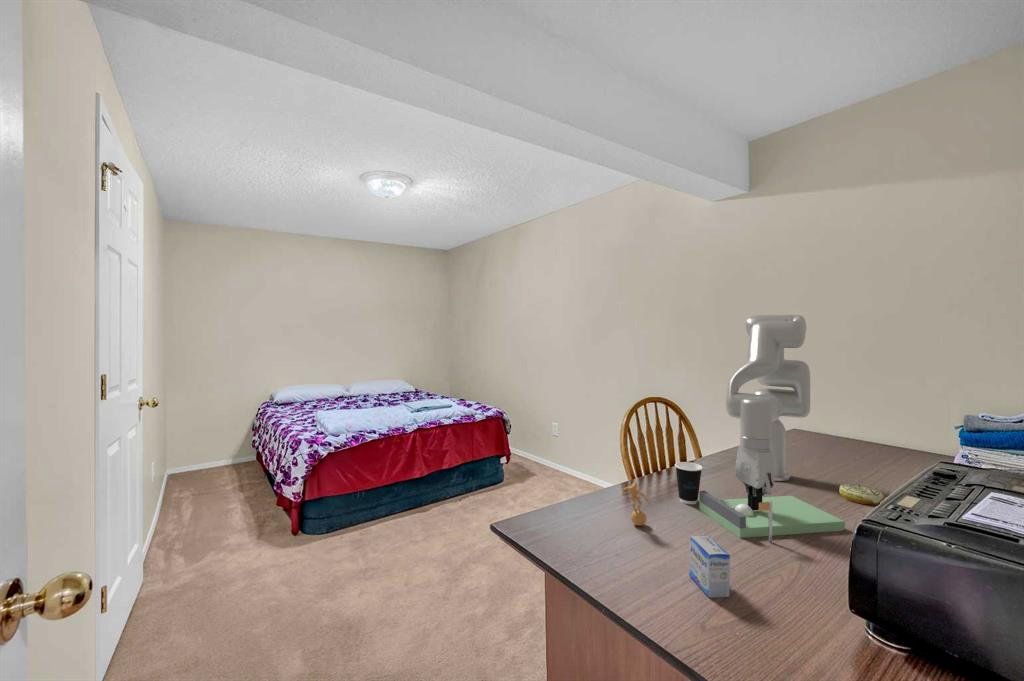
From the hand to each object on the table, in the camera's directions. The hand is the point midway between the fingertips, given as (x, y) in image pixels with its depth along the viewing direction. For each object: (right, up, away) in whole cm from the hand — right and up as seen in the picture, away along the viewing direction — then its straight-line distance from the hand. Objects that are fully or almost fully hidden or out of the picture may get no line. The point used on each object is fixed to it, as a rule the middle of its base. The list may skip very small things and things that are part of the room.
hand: (754, 508), depth 119 cm
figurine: (-34, -3, -4) cm, 34 cm away
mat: (+4, -3, +1) cm, 5 cm away
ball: (-4, -1, -1) cm, 4 cm away
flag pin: (-5, -3, -13) cm, 14 cm away
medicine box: (-27, -4, -31) cm, 41 cm away
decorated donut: (+41, -3, +15) cm, 44 cm away
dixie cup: (-13, -3, +13) cm, 19 cm away
